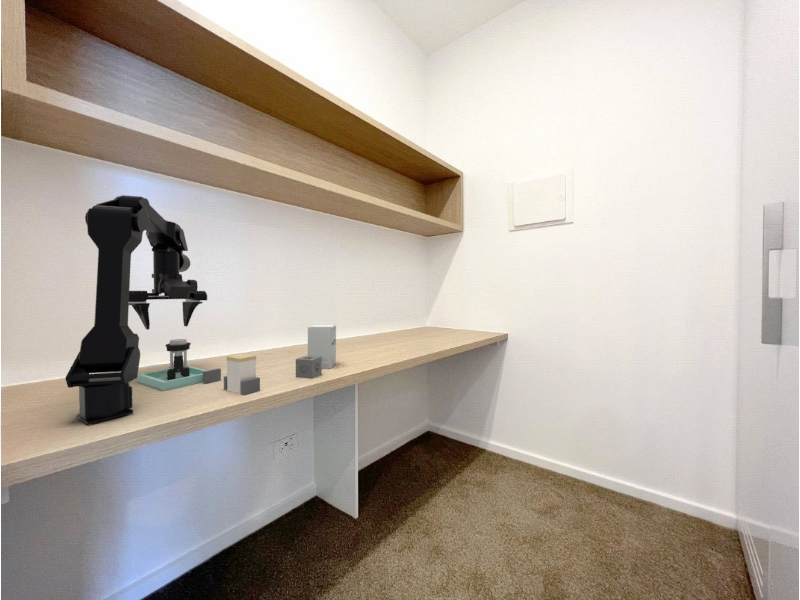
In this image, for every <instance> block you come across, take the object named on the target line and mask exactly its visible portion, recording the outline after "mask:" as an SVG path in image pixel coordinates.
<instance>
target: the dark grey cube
mask: <svg viewBox="0 0 800 600" xmlns="http://www.w3.org/2000/svg"><path fill="white" fill-rule="evenodd" d="M322 371H323V369H322V357H320V356H308V355H303V356H301V357H298V358H296V359H295V378H299V379H310V380H312V379H314V378H317V377H318V376H321V375H322Z"/></svg>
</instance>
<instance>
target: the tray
mask: <svg viewBox="0 0 800 600" xmlns="http://www.w3.org/2000/svg"><path fill="white" fill-rule="evenodd" d="M188 367H189V368H190V376H188V377H183V378H178V379H173V380H167V379H160V378H166V377H167V375H162V374H167V371H168V369H169V368H165V369H160V370H155V371H150V372H144V373H143V372H141V373H138V375H137V383H140V384H141V385H142V384H143V385H144V386H148V387H150V388H154V389H155V390H156V389H157V390H159V391H163V392H165V391H169V390H174V389H178V388H182V387H187V386H192V385H196V384H201V383H203V371H207V370H206V369H204V368H199V367H195V366H190V365H188ZM170 369H172V368H170ZM159 375H161V376H159Z"/></svg>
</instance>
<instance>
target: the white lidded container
mask: <svg viewBox="0 0 800 600" xmlns="http://www.w3.org/2000/svg"><path fill="white" fill-rule="evenodd" d="M256 360H257V356H256V355H253V354H248V353H237V354H233V355H227V356H226V376H227V390H226V391H228V392H230V393H234V394H237V395H238V394H239V395H242V394H241V381H243V380H247V379H251V378H256V377H257V362H256Z"/></svg>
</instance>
